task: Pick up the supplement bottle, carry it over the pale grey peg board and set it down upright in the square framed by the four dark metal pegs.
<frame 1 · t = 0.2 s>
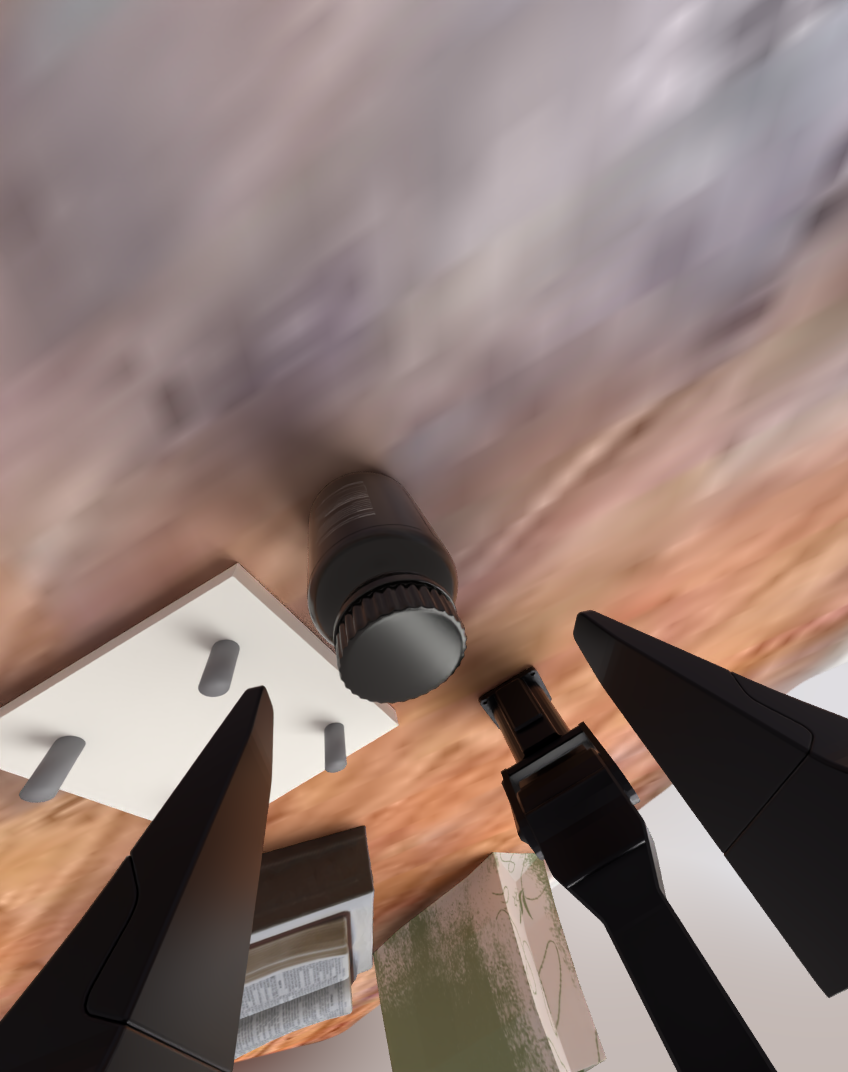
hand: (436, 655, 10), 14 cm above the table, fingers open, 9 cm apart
bible: (289, 889, 43), on the table
grocery bag: (456, 901, 60), on the table
peg board: (222, 717, 27), on the table
supplement bottle: (364, 518, 23), on the table
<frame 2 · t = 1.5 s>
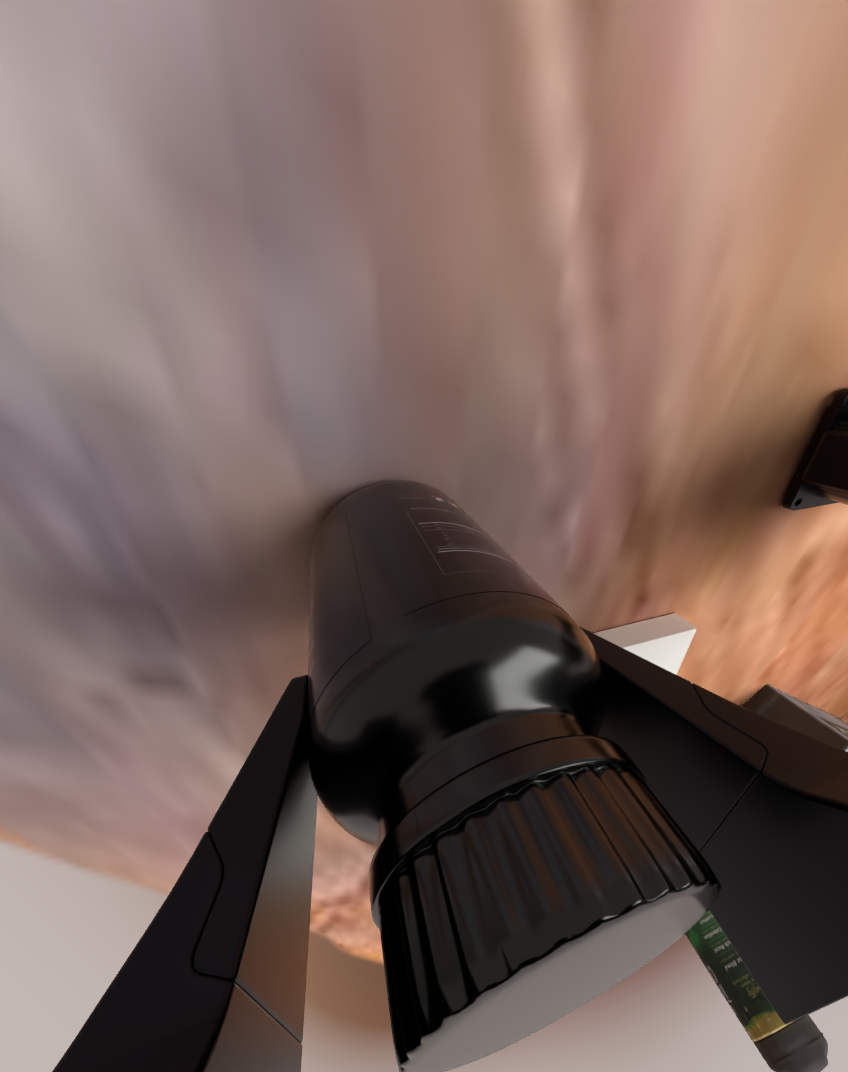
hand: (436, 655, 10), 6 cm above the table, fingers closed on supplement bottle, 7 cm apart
coffee jar: (676, 876, 58), on the table
bible: (736, 755, 40), on the table
peg board: (521, 747, 25), on the table
supplement bottle: (393, 549, 15), on the table, touching gripper
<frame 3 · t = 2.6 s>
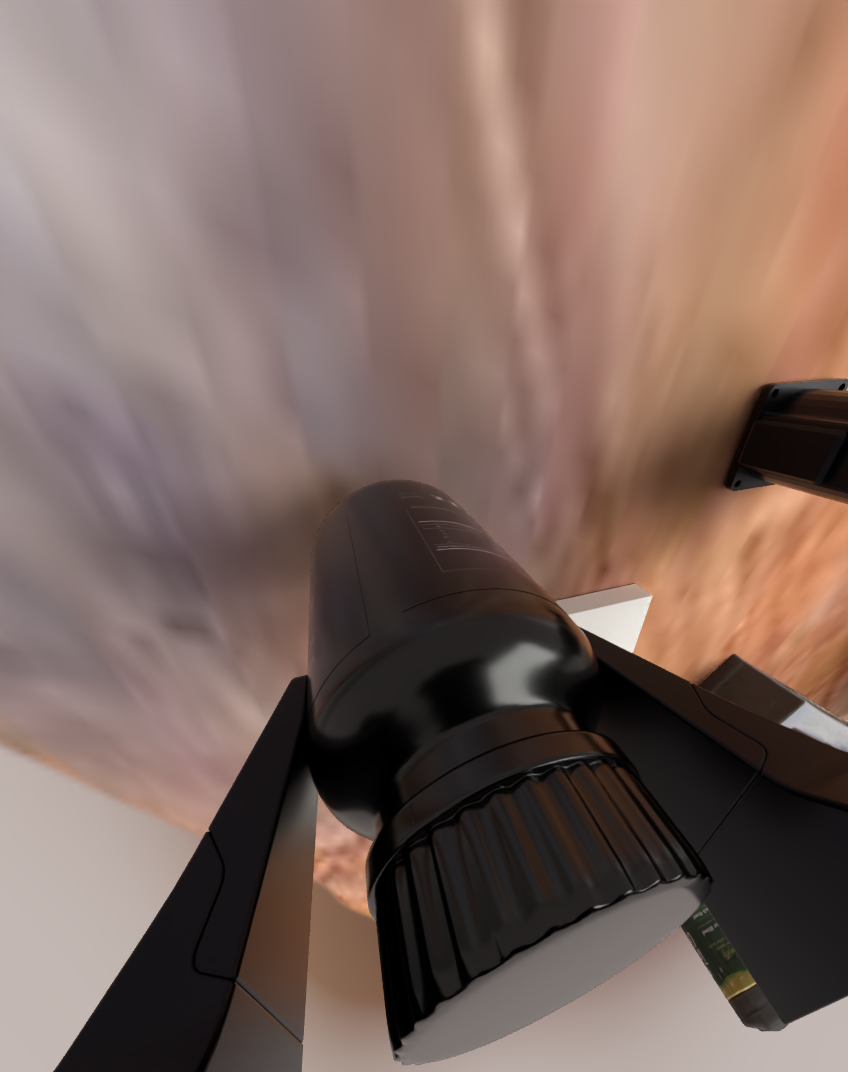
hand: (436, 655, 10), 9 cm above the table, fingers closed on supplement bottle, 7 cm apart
coffee jar: (659, 852, 61), on the table
bible: (708, 727, 43), on the table
peg board: (501, 706, 28), on the table
supplement bottle: (394, 548, 15), point 3 cm above the table, touching gripper
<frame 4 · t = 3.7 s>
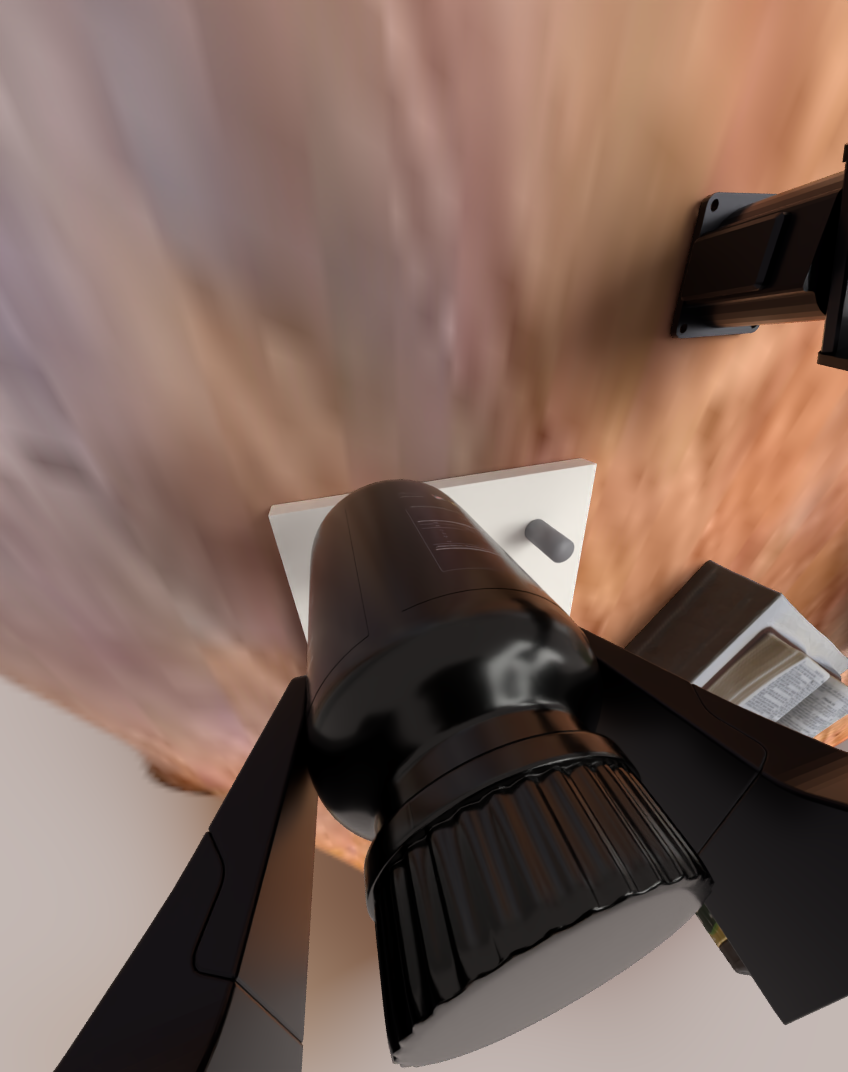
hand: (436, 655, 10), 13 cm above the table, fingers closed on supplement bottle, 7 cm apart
coffee jar: (649, 805, 59), on the table
bible: (687, 657, 40), on the table
peg board: (446, 605, 26), on the table
supplement bottle: (393, 547, 15), point 7 cm above the table, touching gripper
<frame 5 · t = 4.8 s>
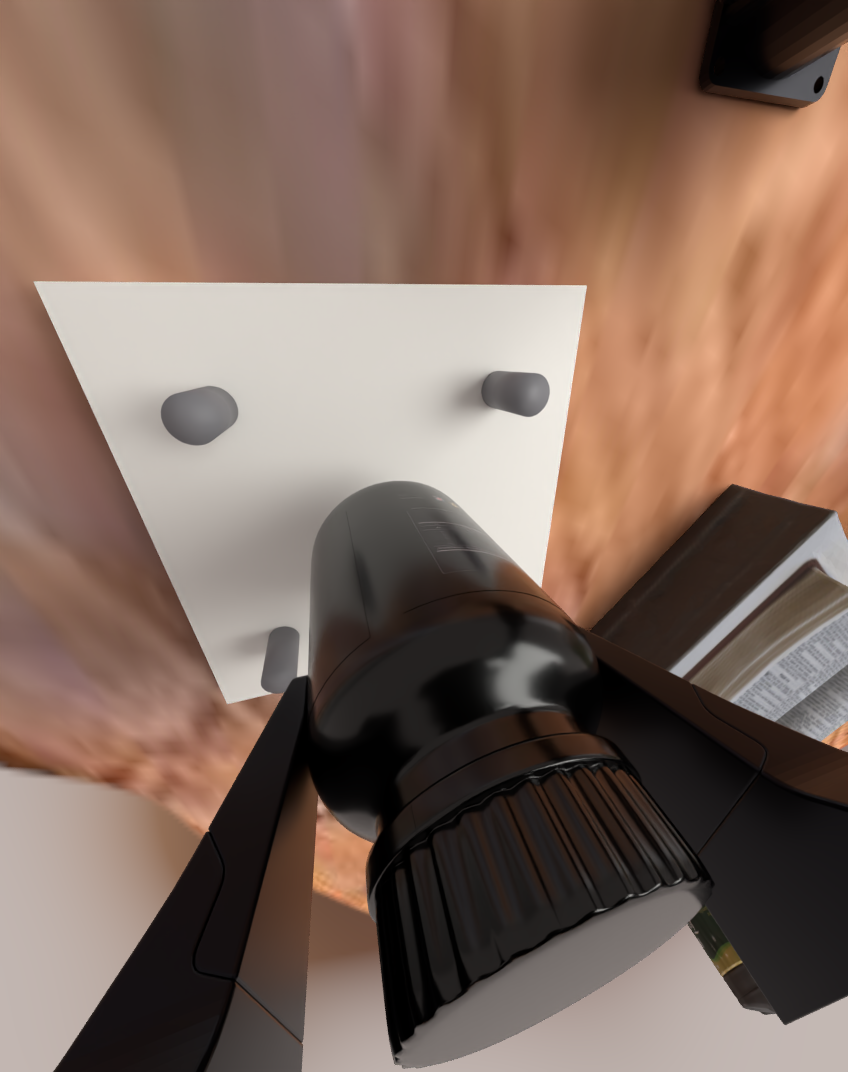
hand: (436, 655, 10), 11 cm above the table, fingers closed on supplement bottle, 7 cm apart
coffee jar: (643, 808, 52), on the table
bible: (693, 623, 33), on the table
peg board: (377, 512, 19), on the table
supplement bottle: (394, 548, 15), point 4 cm above the table, touching gripper
when the fingers open (8 cm above the table, at t = 5.7 s): supplement bottle stays where it is, resting on peg board.
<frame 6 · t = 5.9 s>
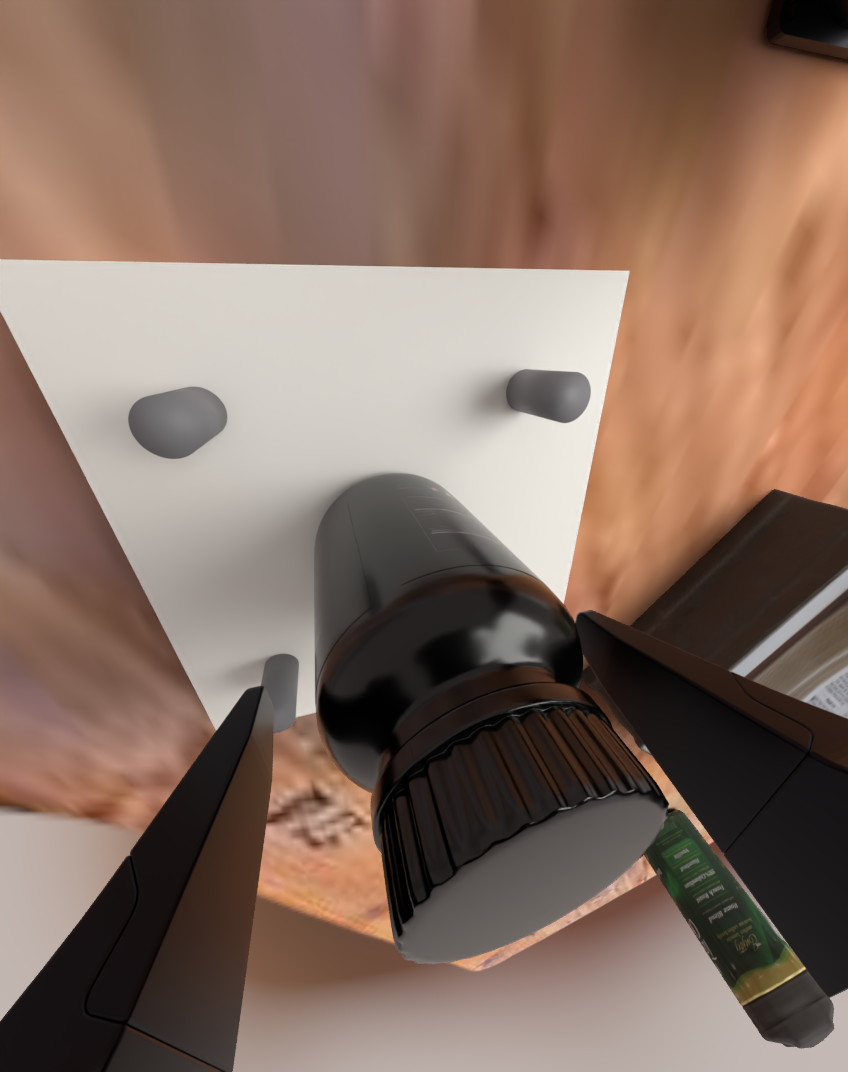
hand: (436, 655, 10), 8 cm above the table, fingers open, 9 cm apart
coffee jar: (655, 823, 50), on the table
bible: (717, 637, 31), on the table
peg board: (385, 527, 17), on the table
supplement bottle: (392, 538, 16), point 1 cm above the table, touching peg board
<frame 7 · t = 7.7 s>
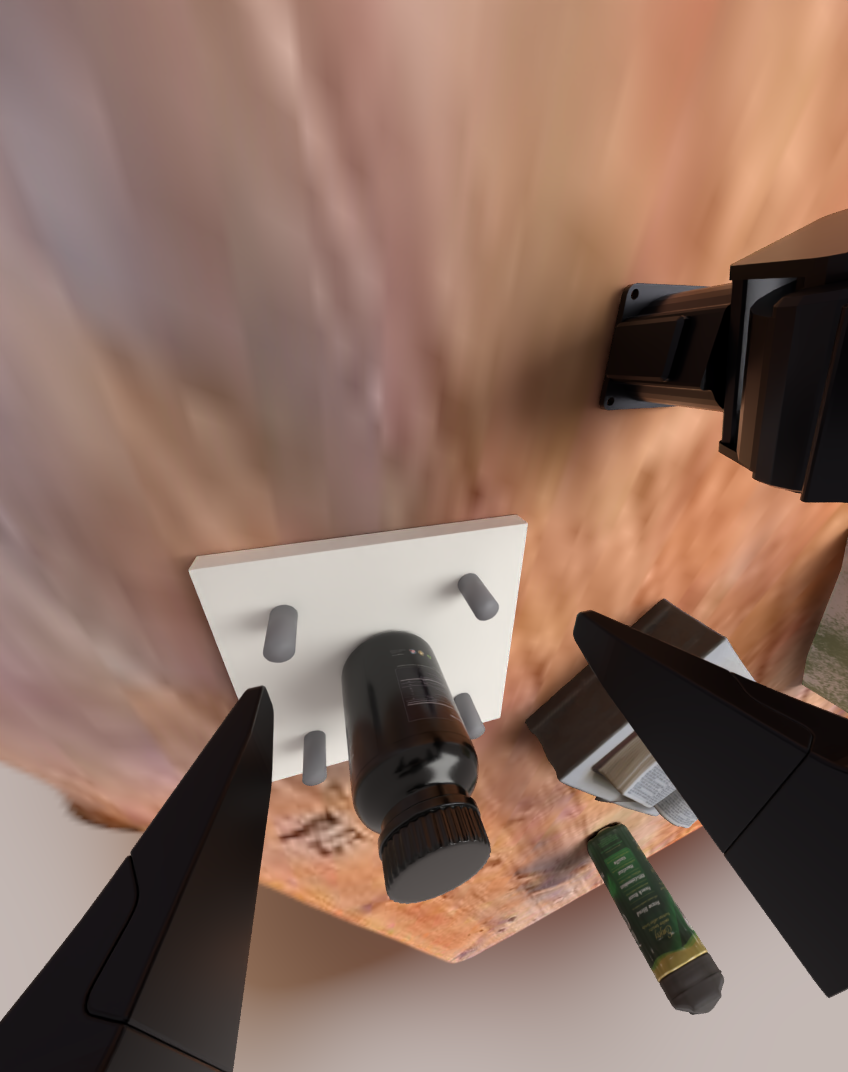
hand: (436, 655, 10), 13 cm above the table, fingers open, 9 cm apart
coffee jar: (603, 835, 60), on the table
bible: (633, 693, 41), on the table
peg board: (383, 649, 26), on the table
supplement bottle: (388, 661, 25), point 1 cm above the table, touching peg board
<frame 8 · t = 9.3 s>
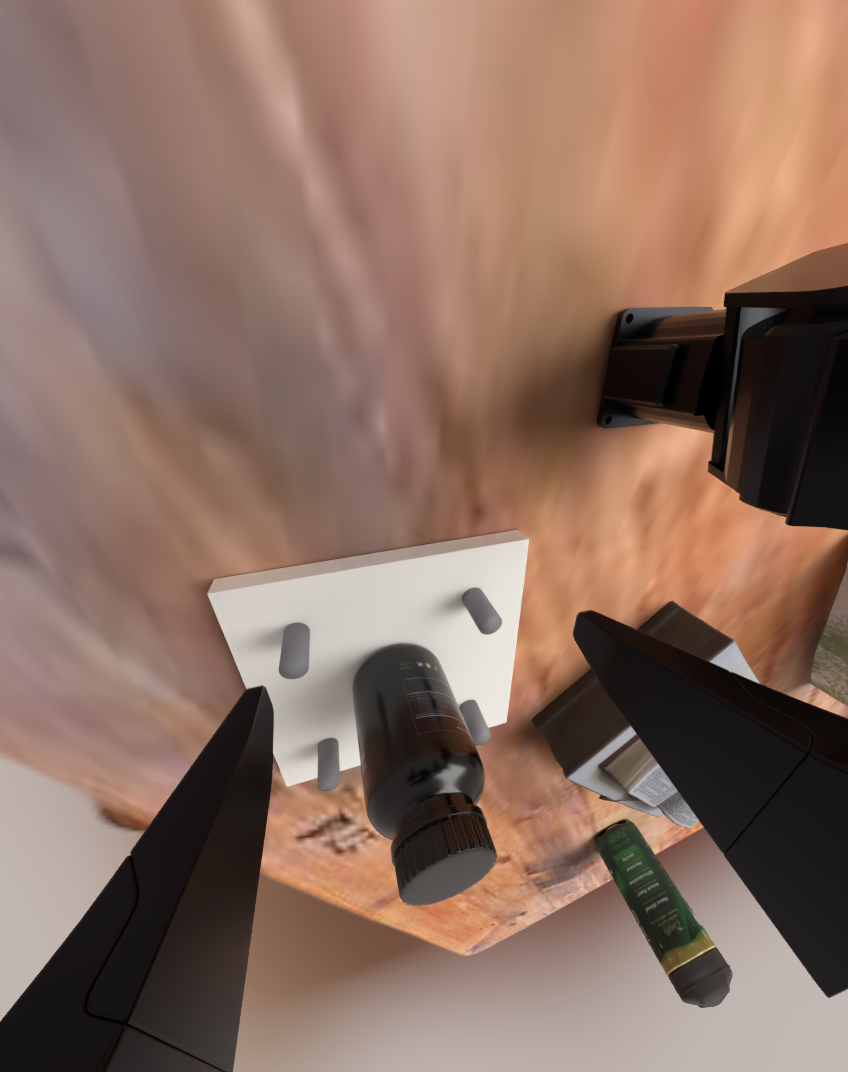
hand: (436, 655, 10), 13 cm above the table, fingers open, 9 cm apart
coffee jar: (612, 832, 60), on the table
bible: (637, 694, 41), on the table
peg board: (392, 660, 27), on the table
supplement bottle: (397, 672, 26), point 1 cm above the table, touching peg board
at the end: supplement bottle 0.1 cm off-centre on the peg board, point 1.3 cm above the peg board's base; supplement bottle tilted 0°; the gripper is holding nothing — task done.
